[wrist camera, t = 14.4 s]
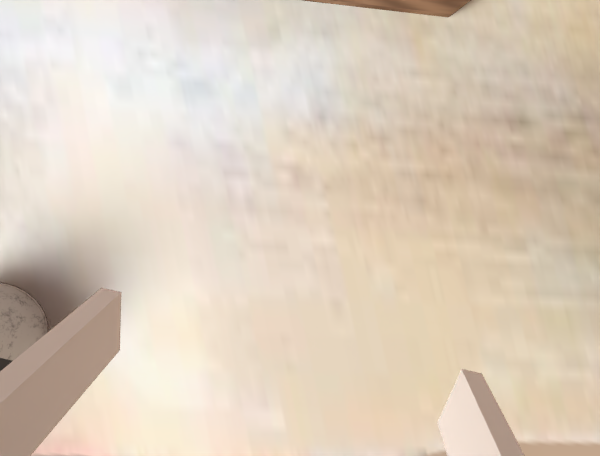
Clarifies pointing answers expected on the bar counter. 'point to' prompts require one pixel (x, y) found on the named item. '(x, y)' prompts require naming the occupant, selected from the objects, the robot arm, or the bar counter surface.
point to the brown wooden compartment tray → (406, 5)
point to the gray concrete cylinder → (19, 321)
